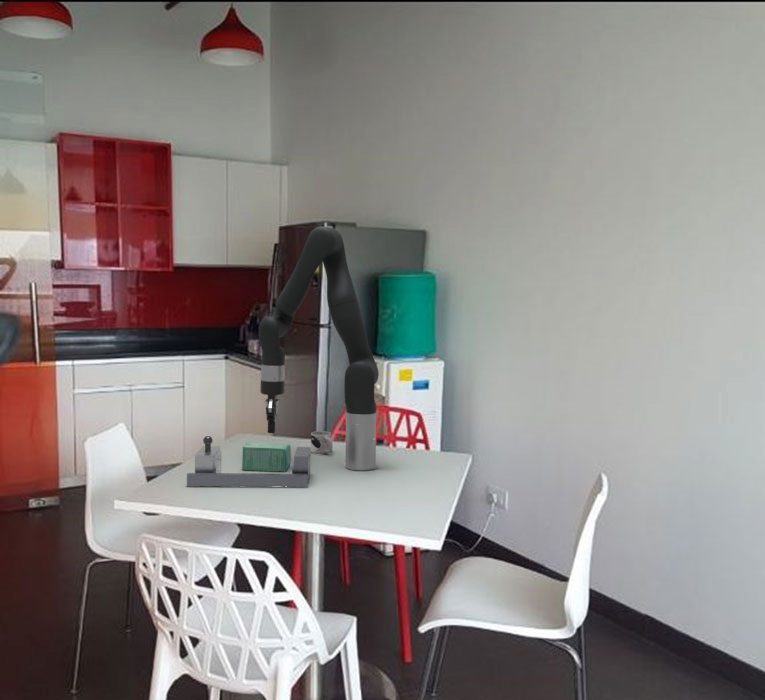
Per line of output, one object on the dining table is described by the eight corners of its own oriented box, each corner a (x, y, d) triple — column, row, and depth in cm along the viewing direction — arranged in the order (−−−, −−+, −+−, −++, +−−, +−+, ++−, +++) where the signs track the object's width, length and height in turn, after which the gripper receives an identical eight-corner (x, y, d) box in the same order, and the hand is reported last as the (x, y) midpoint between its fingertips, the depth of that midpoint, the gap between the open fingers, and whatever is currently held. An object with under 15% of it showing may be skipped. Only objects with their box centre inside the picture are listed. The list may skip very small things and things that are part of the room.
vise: (310, 473, 217) (310, 447, 216) (307, 487, 202) (307, 459, 201) (198, 472, 215) (198, 446, 214) (186, 486, 200) (186, 458, 199)
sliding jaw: (222, 473, 215) (222, 432, 214) (215, 483, 204) (215, 440, 202) (203, 472, 215) (203, 431, 214) (194, 483, 203) (194, 440, 202)
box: (286, 472, 217) (286, 447, 217) (241, 471, 218) (241, 446, 218) (291, 466, 225) (291, 442, 224) (247, 465, 226) (247, 441, 225)
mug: (307, 451, 245) (307, 432, 244) (323, 449, 248) (324, 430, 248) (322, 457, 237) (323, 437, 236) (340, 455, 240) (340, 435, 240)
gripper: (282, 382, 224) (281, 437, 226) (286, 376, 237) (284, 428, 239) (258, 381, 224) (256, 436, 225) (263, 375, 237) (261, 428, 238)
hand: (271, 432), depth 232 cm, fingers closed
